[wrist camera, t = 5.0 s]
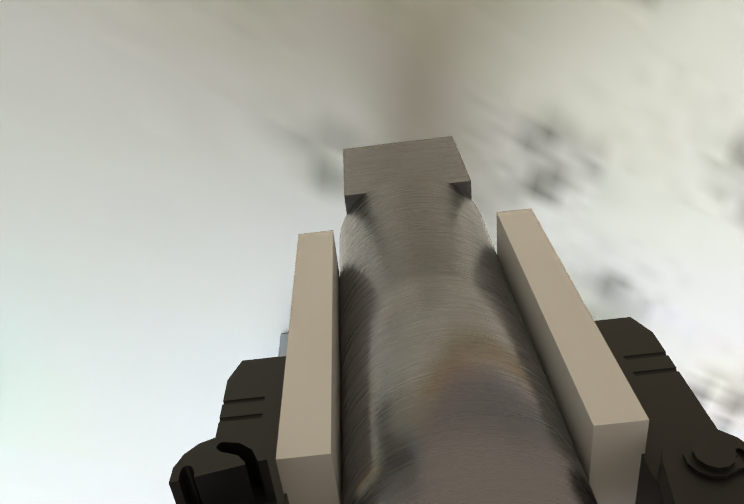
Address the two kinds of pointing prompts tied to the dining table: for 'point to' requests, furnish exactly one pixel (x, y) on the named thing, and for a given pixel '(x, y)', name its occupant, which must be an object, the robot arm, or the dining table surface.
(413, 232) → the l-shaped bracket
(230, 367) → the dining table surface
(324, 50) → the dining table surface
